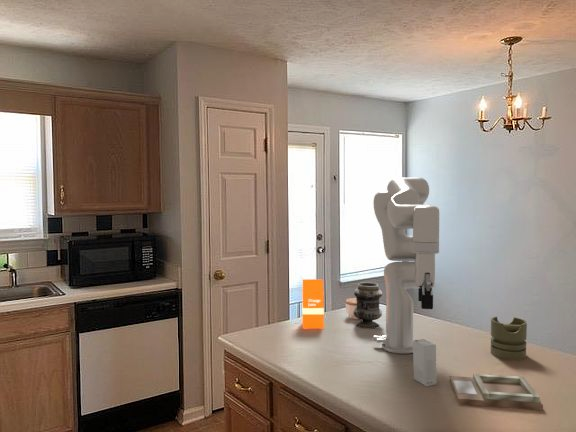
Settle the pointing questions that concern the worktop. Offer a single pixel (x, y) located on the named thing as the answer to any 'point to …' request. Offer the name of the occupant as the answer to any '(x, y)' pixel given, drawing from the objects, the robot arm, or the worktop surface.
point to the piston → (509, 339)
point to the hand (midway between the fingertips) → (425, 304)
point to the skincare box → (424, 362)
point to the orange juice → (313, 303)
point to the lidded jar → (351, 307)
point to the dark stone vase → (367, 305)
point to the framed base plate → (495, 391)
